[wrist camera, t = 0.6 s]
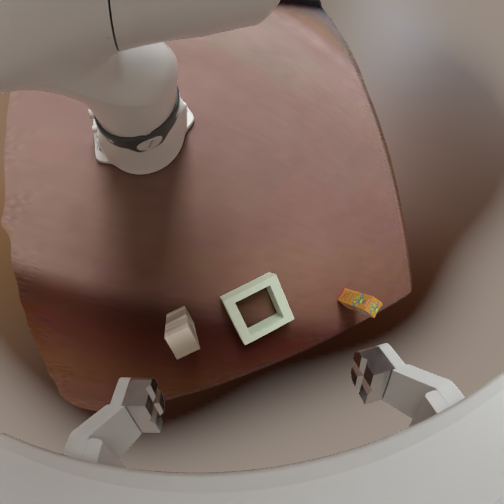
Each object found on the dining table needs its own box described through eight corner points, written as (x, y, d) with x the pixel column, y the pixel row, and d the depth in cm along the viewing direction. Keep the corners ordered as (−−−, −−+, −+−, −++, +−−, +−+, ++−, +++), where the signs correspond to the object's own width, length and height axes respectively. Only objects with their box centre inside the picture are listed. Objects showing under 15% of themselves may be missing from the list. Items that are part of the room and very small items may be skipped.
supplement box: (344, 286, 55) (374, 294, 45) (353, 295, 56) (384, 304, 46) (335, 299, 54) (365, 310, 45) (345, 308, 55) (375, 319, 46)
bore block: (219, 296, 48) (222, 301, 44) (269, 272, 50) (275, 274, 47) (240, 338, 49) (244, 345, 46) (286, 313, 51) (294, 318, 48)
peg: (166, 313, 45) (164, 337, 34) (184, 305, 46) (188, 326, 35) (176, 331, 46) (177, 359, 34) (193, 322, 47) (200, 348, 35)
